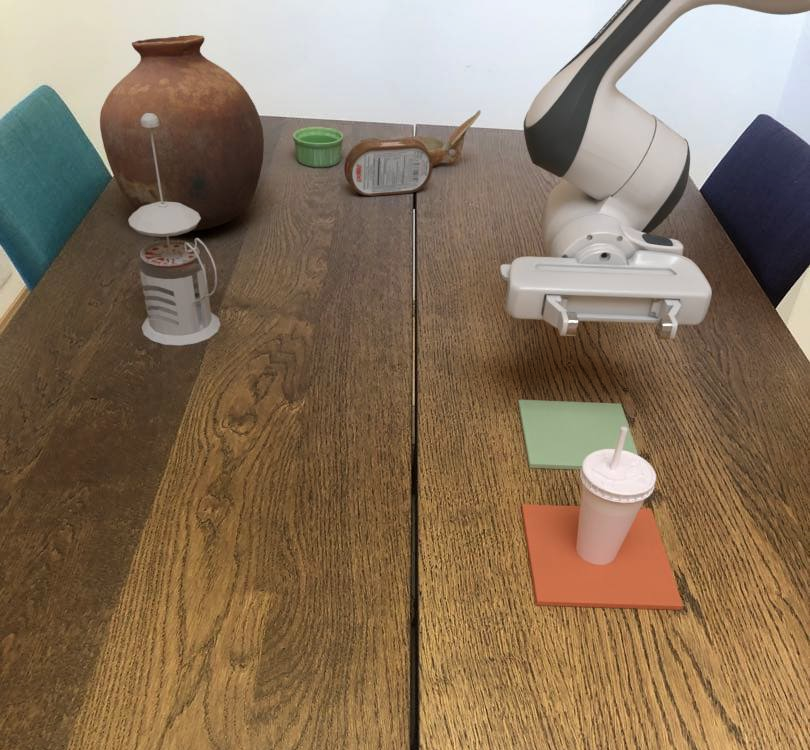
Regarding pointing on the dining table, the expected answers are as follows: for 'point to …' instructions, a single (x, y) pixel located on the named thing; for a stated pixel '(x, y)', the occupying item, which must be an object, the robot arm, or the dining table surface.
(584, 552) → the smoothie
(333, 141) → the ramekin
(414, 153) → the tin
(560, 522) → the terracotta mat
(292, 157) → the dining table surface
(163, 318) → the french press
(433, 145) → the oil lamp
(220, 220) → the pottery
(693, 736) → the dining table surface
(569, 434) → the sage mat
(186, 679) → the dining table surface
